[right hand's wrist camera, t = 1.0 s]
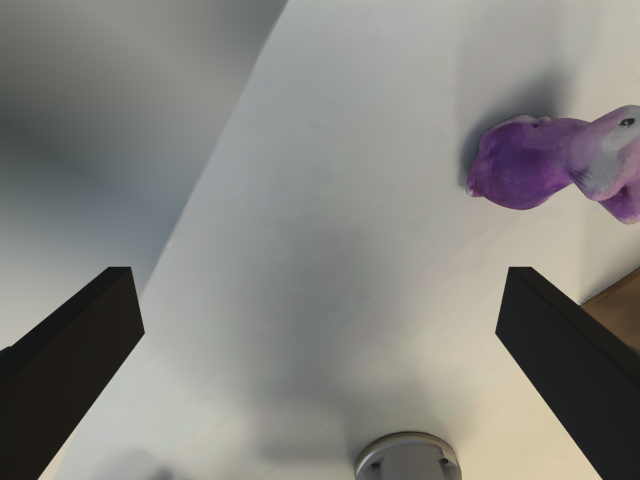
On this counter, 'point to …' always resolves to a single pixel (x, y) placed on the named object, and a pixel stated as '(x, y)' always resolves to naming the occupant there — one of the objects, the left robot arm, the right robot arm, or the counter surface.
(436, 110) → the counter surface
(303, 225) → the counter surface
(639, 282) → the cabinet
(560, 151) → the figurine
